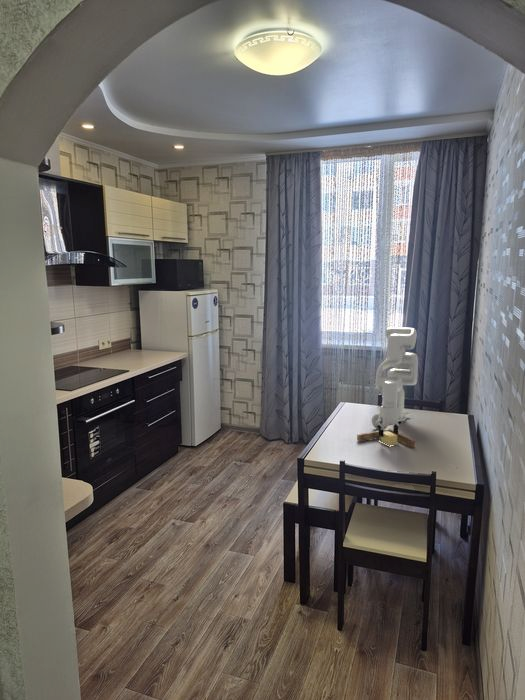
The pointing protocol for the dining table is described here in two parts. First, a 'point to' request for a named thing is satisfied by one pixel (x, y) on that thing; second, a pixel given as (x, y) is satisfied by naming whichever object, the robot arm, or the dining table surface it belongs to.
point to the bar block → (389, 438)
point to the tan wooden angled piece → (400, 436)
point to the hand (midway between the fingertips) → (388, 434)
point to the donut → (376, 420)
